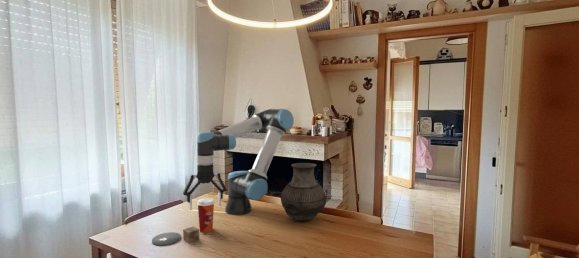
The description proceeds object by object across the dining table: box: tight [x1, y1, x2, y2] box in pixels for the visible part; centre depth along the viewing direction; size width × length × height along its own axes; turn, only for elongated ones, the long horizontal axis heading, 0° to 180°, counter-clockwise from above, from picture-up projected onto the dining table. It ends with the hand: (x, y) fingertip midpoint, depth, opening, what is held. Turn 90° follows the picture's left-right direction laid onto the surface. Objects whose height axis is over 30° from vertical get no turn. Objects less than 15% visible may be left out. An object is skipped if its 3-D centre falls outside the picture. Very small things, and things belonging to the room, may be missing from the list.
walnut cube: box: [182, 226, 200, 244], centre depth 131 cm, size 5×5×5 cm
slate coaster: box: [151, 231, 182, 247], centre depth 131 cm, size 12×12×1 cm
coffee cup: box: [196, 197, 215, 234], centre depth 141 cm, size 8×8×15 cm
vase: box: [280, 162, 327, 222], centre depth 156 cm, size 25×25×30 cm
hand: (205, 207), depth 141 cm, fingers open, 13 cm apart
